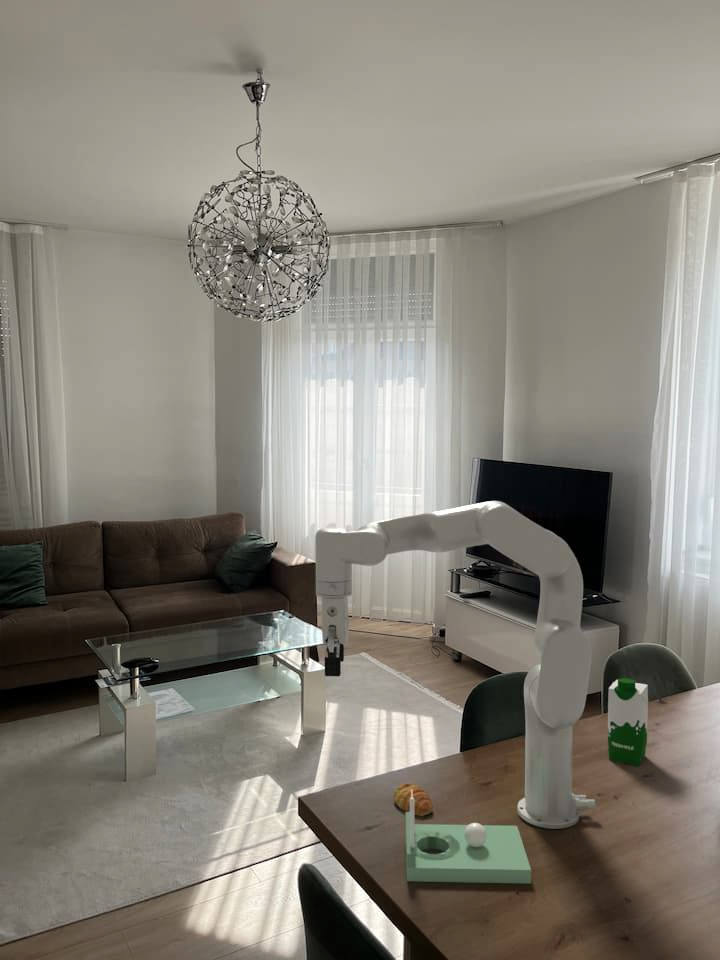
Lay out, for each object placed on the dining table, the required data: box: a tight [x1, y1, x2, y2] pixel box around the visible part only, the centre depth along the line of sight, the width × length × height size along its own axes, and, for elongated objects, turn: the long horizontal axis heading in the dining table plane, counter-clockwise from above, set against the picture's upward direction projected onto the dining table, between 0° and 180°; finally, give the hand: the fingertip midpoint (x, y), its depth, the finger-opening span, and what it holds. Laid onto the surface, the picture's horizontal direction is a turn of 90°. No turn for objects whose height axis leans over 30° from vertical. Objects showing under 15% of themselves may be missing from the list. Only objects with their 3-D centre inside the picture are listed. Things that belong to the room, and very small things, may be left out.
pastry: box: [393, 782, 434, 817], centre depth 161 cm, size 9×7×4 cm
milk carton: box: [607, 677, 649, 767], centre depth 184 cm, size 9×9×20 cm
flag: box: [410, 789, 415, 848], centre depth 139 cm, size 1×4×14 cm, turn 178°
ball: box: [464, 822, 487, 848], centre depth 141 cm, size 4×4×4 cm
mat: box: [405, 811, 532, 885], centre depth 142 cm, size 22×15×5 cm
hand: (334, 668), depth 158 cm, fingers open, 9 cm apart
